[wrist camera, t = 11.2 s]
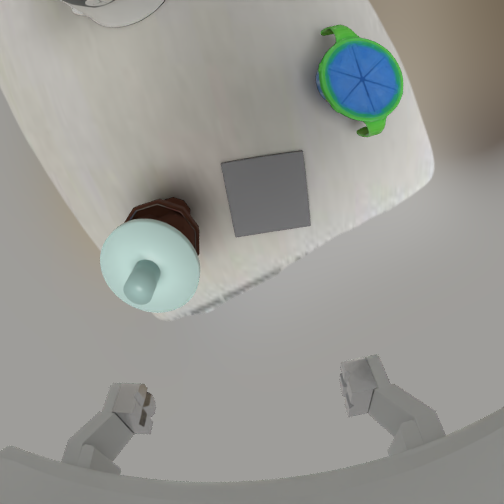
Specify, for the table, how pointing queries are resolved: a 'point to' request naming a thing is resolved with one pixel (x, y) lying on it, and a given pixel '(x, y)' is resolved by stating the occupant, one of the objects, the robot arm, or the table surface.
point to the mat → (267, 193)
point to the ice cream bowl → (170, 217)
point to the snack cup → (359, 79)
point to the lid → (150, 265)
